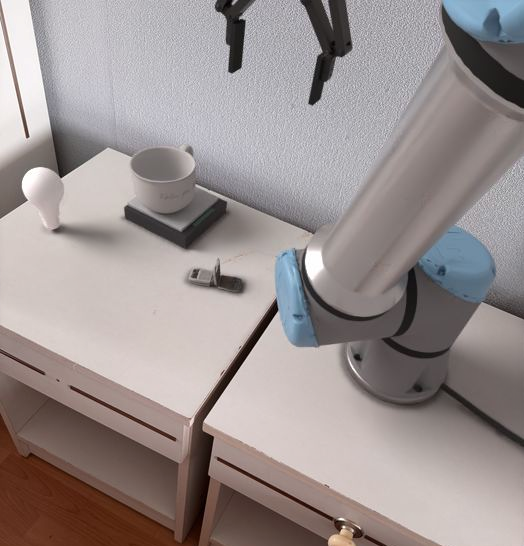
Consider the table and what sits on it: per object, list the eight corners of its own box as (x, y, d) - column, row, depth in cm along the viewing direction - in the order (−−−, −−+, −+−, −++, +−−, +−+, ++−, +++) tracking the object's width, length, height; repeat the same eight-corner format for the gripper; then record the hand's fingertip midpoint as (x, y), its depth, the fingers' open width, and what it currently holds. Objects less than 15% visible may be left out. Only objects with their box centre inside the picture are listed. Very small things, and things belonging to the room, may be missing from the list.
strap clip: (187, 283, 83) (187, 263, 80) (192, 270, 85) (192, 251, 82) (239, 293, 83) (241, 274, 80) (242, 280, 85) (245, 261, 82)
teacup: (165, 230, 86) (164, 189, 79) (119, 201, 89) (114, 159, 83) (219, 196, 93) (221, 156, 87) (174, 170, 97) (174, 130, 90)
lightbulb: (54, 211, 90) (41, 154, 81) (79, 227, 88) (68, 171, 79) (25, 228, 86) (8, 170, 78) (51, 245, 84) (36, 187, 76)
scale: (226, 212, 96) (227, 198, 93) (185, 249, 88) (185, 235, 86) (169, 185, 98) (169, 171, 96) (125, 218, 91) (123, 204, 89)
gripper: (410, -77, 59) (359, 105, 75) (226, -131, 64) (216, 50, 81) (386, -66, 54) (338, 125, 71) (191, -125, 60) (189, 65, 76)
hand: (273, 85), depth 76 cm, fingers open, 13 cm apart
